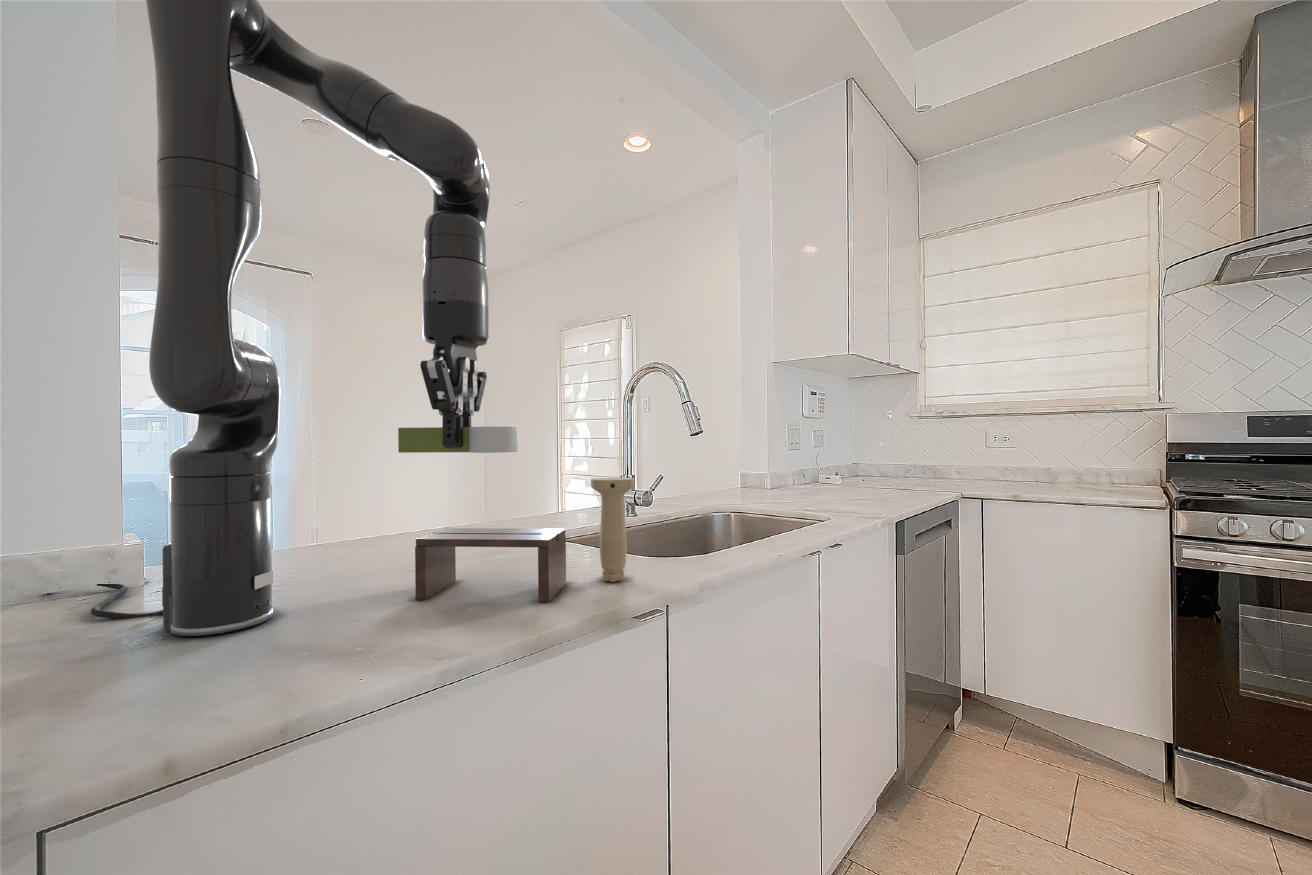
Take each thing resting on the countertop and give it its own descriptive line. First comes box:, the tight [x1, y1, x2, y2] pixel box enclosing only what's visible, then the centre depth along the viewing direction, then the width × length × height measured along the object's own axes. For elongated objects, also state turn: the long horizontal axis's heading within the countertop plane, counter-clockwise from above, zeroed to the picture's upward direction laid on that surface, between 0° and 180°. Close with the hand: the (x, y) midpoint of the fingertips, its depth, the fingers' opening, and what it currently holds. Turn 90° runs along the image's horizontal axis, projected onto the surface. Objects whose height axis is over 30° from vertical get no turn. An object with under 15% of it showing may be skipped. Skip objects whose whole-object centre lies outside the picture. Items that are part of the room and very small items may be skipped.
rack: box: [414, 527, 567, 603], centre depth 77 cm, size 18×9×8 cm, turn 85°
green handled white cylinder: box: [397, 426, 519, 454], centre depth 68 cm, size 14×6×3 cm, turn 85°
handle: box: [590, 477, 635, 583], centre depth 83 cm, size 5×6×15 cm
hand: (457, 446), depth 68 cm, fingers closed on green handled white cylinder, 2 cm apart
